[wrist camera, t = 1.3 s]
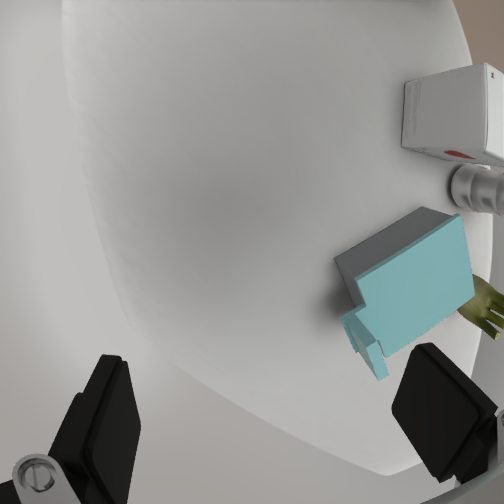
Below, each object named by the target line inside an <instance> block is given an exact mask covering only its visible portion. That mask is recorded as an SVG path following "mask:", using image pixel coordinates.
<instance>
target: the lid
mask: <svg viewBox="0 0 504 504" xmlns="http://www.w3.org/2000/svg"><path fill="white" fill-rule="evenodd" d="M354 280H355V282H356V285H357V287H358V290H359V292H360V295H361V297H362V300H363V302H364V303H363V304H361V305H360V306H358V307H356V308H354V309H353V310H351V311H349V312H348V313H346V314H344V315H342V316H341V317H340V320H341V322H342V324H343V326H344V328H345V331H346V333H347V335H348V337H349V340H350V342H351V344H352V346H353V349H354V350H355V352H356V353H357V352H359V353H360V354H361V356H362V357H363V359H364V360H365V362H366V363H367V365H368V366H369V368H370V369H371V370H372V372H373V373H374V375H375V376H376V378H377V379H378V381H380V380H381V379H383V378H385V377H386V376H388V375H389V373H388V370H387V367H386V364H385V362H384V359H383V356H382V354H383V355H384V357H385V358H387V357H389V356H390V355H392V354H393V353H395V352H397V351H398V350H400V349H401V348H403V347H404V346H406V345H407V344H409V343H410V342H412V341H413V340H415V339H416V338H418V337H419V336H421V335H422V334H424V333H425V332H427V331H428V330H430V329H431V328H432V327H434V326H435V325H437V324H438V323H439V322H441V321H442V320H443V319H445V318H446V317H448V316H449V315H450V314H452V313H453V312H454V311H456V310H457V309H458V308H459V307H461V306H462V305H463V304H465V303H466V302H467V301H468V300H470V299H471V298H472V297H473V296H475V292H474V284H473V277H472V270H471V264H470V258H469V252H468V247H467V242H466V237H465V232H464V227H463V223H462V219H461V215H459V214H455V215H453V216H452V217H450V218H449V219H447V220H446V221H444V222H443V223H441V224H440V225H438V226H437V227H435V228H434V229H432V230H431V231H429V232H428V233H426V234H425V235H423V236H422V237H420V238H419V239H417V240H415V241H414V242H412V243H411V244H409V245H408V246H406V247H404V248H403V249H401V250H400V251H398V252H396V253H395V254H393V255H392V256H390V257H388V258H387V259H385V260H383V261H382V262H380V263H378V264H377V265H375V266H373V267H372V268H370V269H368V270H367V271H365V272H363V273H362V274H360V275H358V276H357V277H355V278H354ZM377 340H378V342H379V345H380V347H379V345H378V342H377ZM380 348H381V350H380ZM381 351H382V353H381Z"/></svg>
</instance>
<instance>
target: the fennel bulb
mask: <svg viewBox="0 0 504 504" xmlns="http://www.w3.org/2000/svg"><path fill="white" fill-rule="evenodd" d="M472 277H473V284H474V292H475V296H473V297H472V298H471V299H470V300H468V301H467V302H466V303H465V304H463V305H462V306H461V307H459V308H458V309H457V311H458V312H459V313H460V314H461V315H462V316H463V317H464V318H466V319H467V320H468V321H470V322H472V323H473V324H475V325H476V326H478V327H479V328H481V329H482V330H484V331H485V332H486V333H487V334H488V335H489V336H491V337H492V338H493V339H494V340H496V339H497V338H498V337H499V335H500V332H499V331H497V330H496V329H495V328H494V327H493V326H492V325H491V324H490V323H488V322H487V321H486V319H487V320H489V321H490V322H492V323H494V324H495V325H497V326H499V327H500V328H502V329H504V319H503V318H501V317H500V316H498V315H496V314H495V313H493V312H491V311H490V309H492V310H494V311H496V312H498V313H499V314H501V315H503V316H504V295H502V294H500V293H499V292H497V291H496V290H495V289H494V288H493V287H492V286H491V285H490V284H488V283H487V282H486V281H485V280H483V279H482V278H480V277H478V276H476V275H474V274H472Z"/></svg>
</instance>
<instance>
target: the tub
mask: <svg viewBox="0 0 504 504" xmlns="http://www.w3.org/2000/svg"><path fill="white" fill-rule="evenodd" d="M450 217H452V216H451V215H448V214H444V213H441V212H438V211H435V210H432V209H429V208H425V207H420V208H419V209H417V210H415V211H414V212H412V213H411V214H409V215H407V216H406V217H404V218H402V219H401V220H399V221H397V222H396V223H394V224H392V225H391V226H389V227H387V228H386V229H384V230H382V231H380V232H379V233H377V234H375V235H374V236H372V237H370V238H369V239H367V240H365V241H363V242H362V243H360V244H358V245H356V246H355V247H353V248H351V249H349V250H348V251H346V252H344V253H342V254H341V255H339V256H337V257H335V258H334V259H335V261H336V263H337V265H338V268H339V270H340V272H341V275H342V277H343V279H344V282H345V284H346V286H347V289H348V291H349V293H350V296H351V298H352V300H353V303H354V305H355V308H356V307H358V306H360V305H361V304H363V303H364V302H363V300H362V297H361V295H360V292H359V290H358V287H357V285H356V282H355V280H354V278H355V277H357V276H358V275H360V274H362V273H363V272H365V271H367V270H368V269H370V268H372V267H373V266H375V265H377V264H378V263H380V262H382V261H383V260H385V259H387V258H388V257H390V256H392V255H393V254H395V253H396V252H398V251H400V250H401V249H403V248H404V247H406V246H408V245H409V244H411V243H412V242H414V241H415V240H417V239H419V238H420V237H422V236H423V235H425V234H426V233H428V232H429V231H431V230H432V229H434V228H435V227H437V226H438V225H440V224H441V223H443V222H444V221H446V220H447V219H449V218H450ZM377 342H378V340H377ZM378 344H379V342H378ZM379 346H380V345H379Z"/></svg>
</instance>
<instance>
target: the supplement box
mask: <svg viewBox="0 0 504 504" xmlns="http://www.w3.org/2000/svg"><path fill="white" fill-rule="evenodd" d="M401 146H402V147H404V148H407V149H411V150H414V151H418V152H421V153H425V154H428V155H431V156H435V157H438V158H441V159H444V160H448V161H456V162H465V163H473V164H481V165H489V166H497V167H504V74H503V73H501V72H500V71H498V70H497V69H495V68H494V67H492V66H491V65H489V64H487V63H481V64H476V65H471V66H467V67H463V68H458V69H454V70H450V71H446V72H442V73H438V74H435V75H431V76H427V77H424V78H420V79H417V80H413V81H410V82H406V83H405V102H404V119H403V132H402V143H401Z"/></svg>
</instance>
